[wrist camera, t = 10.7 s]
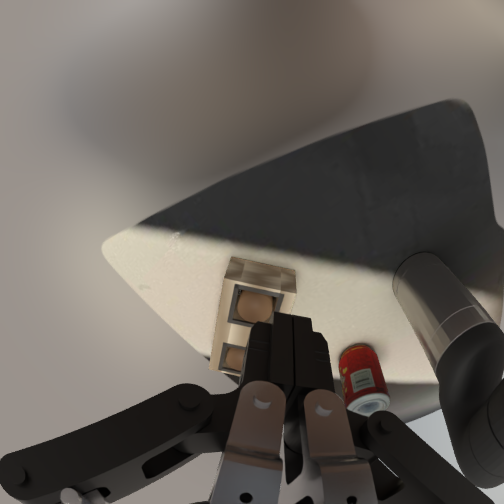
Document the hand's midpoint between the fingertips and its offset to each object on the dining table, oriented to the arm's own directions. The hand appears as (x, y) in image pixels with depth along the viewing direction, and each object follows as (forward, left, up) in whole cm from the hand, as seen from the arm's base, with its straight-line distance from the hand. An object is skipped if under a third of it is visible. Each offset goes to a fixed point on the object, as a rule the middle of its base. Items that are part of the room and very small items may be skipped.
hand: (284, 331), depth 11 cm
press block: (0, +20, -27) cm, 33 cm away
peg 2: (0, +15, -27) cm, 31 cm away
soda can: (-20, +25, -27) cm, 42 cm away
